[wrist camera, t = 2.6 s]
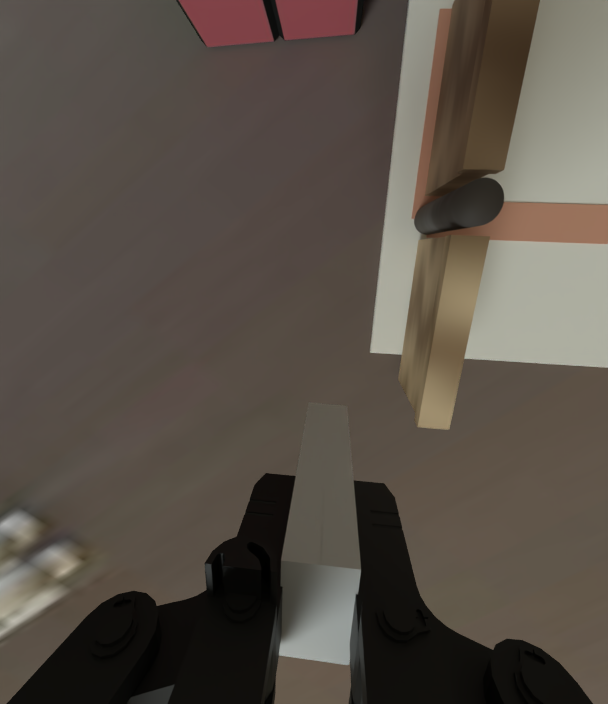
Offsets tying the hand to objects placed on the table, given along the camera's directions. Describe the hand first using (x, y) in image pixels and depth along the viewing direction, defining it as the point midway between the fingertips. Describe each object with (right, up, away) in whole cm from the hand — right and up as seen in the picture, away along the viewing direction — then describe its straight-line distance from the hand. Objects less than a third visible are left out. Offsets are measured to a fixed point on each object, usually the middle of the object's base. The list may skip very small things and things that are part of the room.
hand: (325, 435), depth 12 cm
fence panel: (+8, +6, +11) cm, 15 cm away
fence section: (+8, +17, +8) cm, 21 cm away
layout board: (+14, +13, +9) cm, 21 cm away
